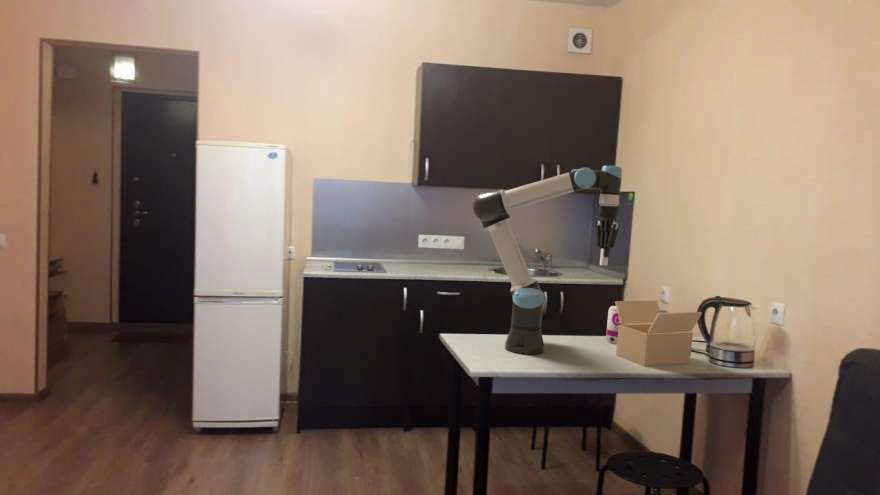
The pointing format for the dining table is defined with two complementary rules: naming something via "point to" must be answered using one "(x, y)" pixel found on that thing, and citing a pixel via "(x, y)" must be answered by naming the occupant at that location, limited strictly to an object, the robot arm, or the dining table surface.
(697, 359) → the dining table surface
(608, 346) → the dining table surface
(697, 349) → the dining table surface
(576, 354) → the dining table surface
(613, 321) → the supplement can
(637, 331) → the carton
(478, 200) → the robot arm
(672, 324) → the near flap
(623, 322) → the far flap
